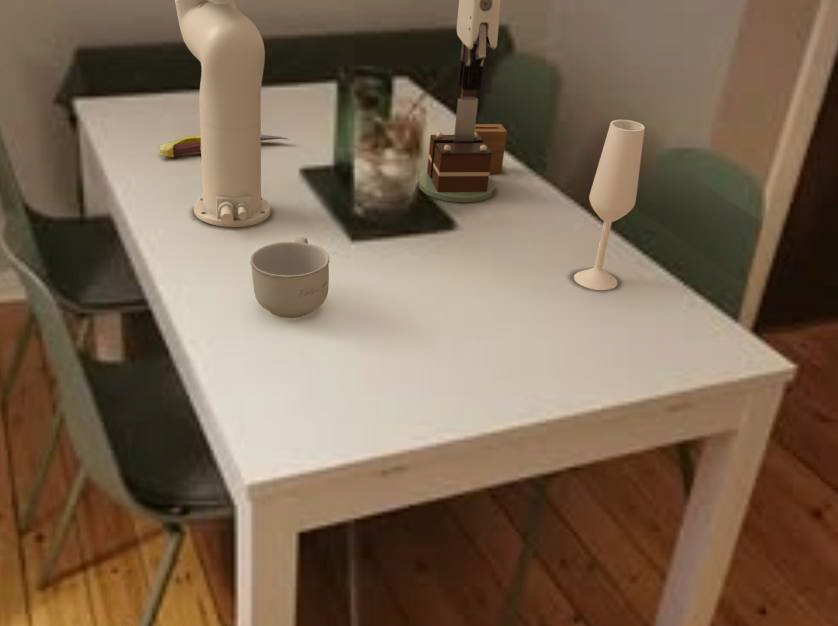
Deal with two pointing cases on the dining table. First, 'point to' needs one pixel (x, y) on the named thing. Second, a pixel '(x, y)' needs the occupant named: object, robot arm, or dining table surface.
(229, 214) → the robot arm
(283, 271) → the teacup
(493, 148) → the knife holder
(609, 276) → the champagne flute
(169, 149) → the knife
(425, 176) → the cake plate
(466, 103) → the cake knife
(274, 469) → the dining table surface
